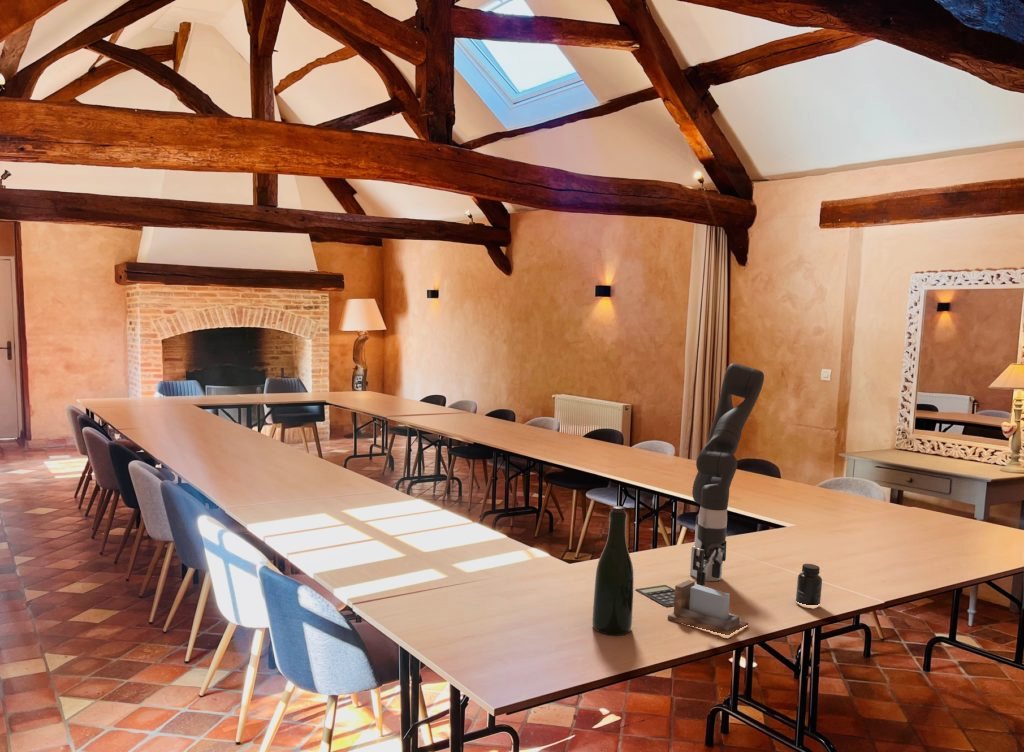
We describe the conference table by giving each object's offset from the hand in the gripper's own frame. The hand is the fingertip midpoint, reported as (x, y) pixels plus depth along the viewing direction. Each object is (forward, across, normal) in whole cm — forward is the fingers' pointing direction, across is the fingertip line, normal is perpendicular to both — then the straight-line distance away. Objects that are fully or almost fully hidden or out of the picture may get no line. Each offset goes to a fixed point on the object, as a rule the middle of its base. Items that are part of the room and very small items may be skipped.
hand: (708, 581), depth 212 cm
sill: (+12, 0, +1) cm, 12 cm away
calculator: (+13, -10, -18) cm, 24 cm away
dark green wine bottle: (+12, +23, -15) cm, 30 cm away
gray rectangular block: (+10, 0, +1) cm, 11 cm away
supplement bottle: (+12, -36, +14) cm, 41 cm away
